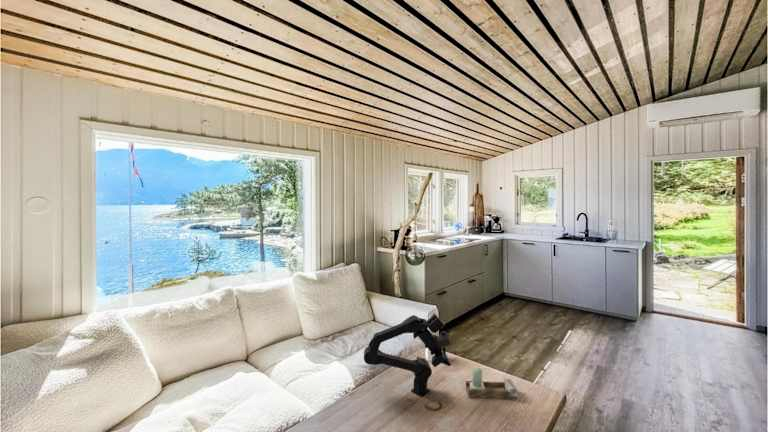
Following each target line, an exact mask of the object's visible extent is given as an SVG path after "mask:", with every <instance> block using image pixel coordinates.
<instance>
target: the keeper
mask: <svg viewBox="0 0 768 432" xmlns="http://www.w3.org/2000/svg"><path fill="white" fill-rule="evenodd" d="M472 381H473V382H470V389H475V390H485V387H484V385H483V383H482V381H483V371H482V369H481V368H480V367H473V368H472Z"/></svg>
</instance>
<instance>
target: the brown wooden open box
mask: <svg viewBox="0 0 768 432" xmlns="http://www.w3.org/2000/svg"><path fill="white" fill-rule="evenodd" d="M503 380H504V381H485V380H484V381H483V380H482V383H483V385H484V387H485V390H475V389H470V382H473V380H465V390H466V393H467V396H468V399H476V400H477V399H481V400H483V399H484V400H507V401H509V400H510V401H511V400H513V401H517V400H518V396H517V395H518V394H517V391H518V390H517V388H516V386H515V384H514V382H513V381H512V379H511V378H504V379H503Z"/></svg>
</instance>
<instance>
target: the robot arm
mask: <svg viewBox="0 0 768 432" xmlns="http://www.w3.org/2000/svg"><path fill="white" fill-rule="evenodd" d="M444 326H445V323H444V322H443V320H441V318H440V317H439V316H438V315H437V314H436V313H434V314H432V315H431V317H430V318H428V319H425V318H421V317H419V316H417V315H410V316H409V317H407V318H405V319H404V320H403V321H402V322H401V323H399V324H396V325H394V326H391V327H389V328H385V329H384V330H381V331H378V332H374V334H373V336H372V338H371V340H370V342H369V344H368V346H367V347H366V348H365V349H364V350H363V361H364V363H365V364H366V365H371V366H377V365H384V366H385V365H386V366H390V367H393V368H398V369H402V370H404V371H409V372H412V373H413V375H414V378H413V388H412V389H411V390H410V392H411V393H413V394H415V395H417V396H420V397H424V396H426V394H428V393H430V392H431V389H430V388H428V380H429V378H430V377H431V376H432V373H433V371H432V367H431V365H432V366H433V367H434V368H436V367H438V366H440V364H443V365H444V366H445V365H446V366H448V367H450V366H451V365H452V363H451V361H450V359H449V357H448V356H447V355H448V354H447V353H446V347H447V346H451V345H452V340H451V338H450V337H451V336H450V334H449V333H447V332H446V331H444V330H443V331H441V332H440V333H441V334H440V335H439V337H436V335H437V334H435V333H438V332H439V331H440V330H441V329H442V328H443V327H444ZM412 333H413V334H412ZM432 333H433V334H432ZM403 334H412V336H413V337H412V338H413V339H417V338H418V339H419V340H420V341H421V342H422V344H423V345H424V348H428V349H429V350H430V352H431V353H430V354H431V355H433V354H435V355H434V356H433V357H432V361H431V365H430V363H429V361H428V360H427V359H426V357H425V358H424V357H420V356H416V359H408V358H404V357H400V356H396V355H393V354H389V353H386V352H383V351H381V350H380V345H381V344H382V343H383V342H386V341H388V340H391V339H393V338H396V337H398V336H401V335H403ZM433 335H434V336H433Z"/></svg>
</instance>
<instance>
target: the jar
mask: <svg viewBox="0 0 768 432" xmlns="http://www.w3.org/2000/svg"><path fill="white" fill-rule="evenodd" d="M432 335H433V336H434V335H436V337H440V335H437V334H432ZM424 348H425V347H424ZM424 350H425V351H424V352H425V355H424V357H425V360H427V361H428V362H432V357H433V356H434V355H435V354H433V355H431V354H430V353H431V352H430V350H429V349H428V348H425V349H424Z"/></svg>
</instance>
